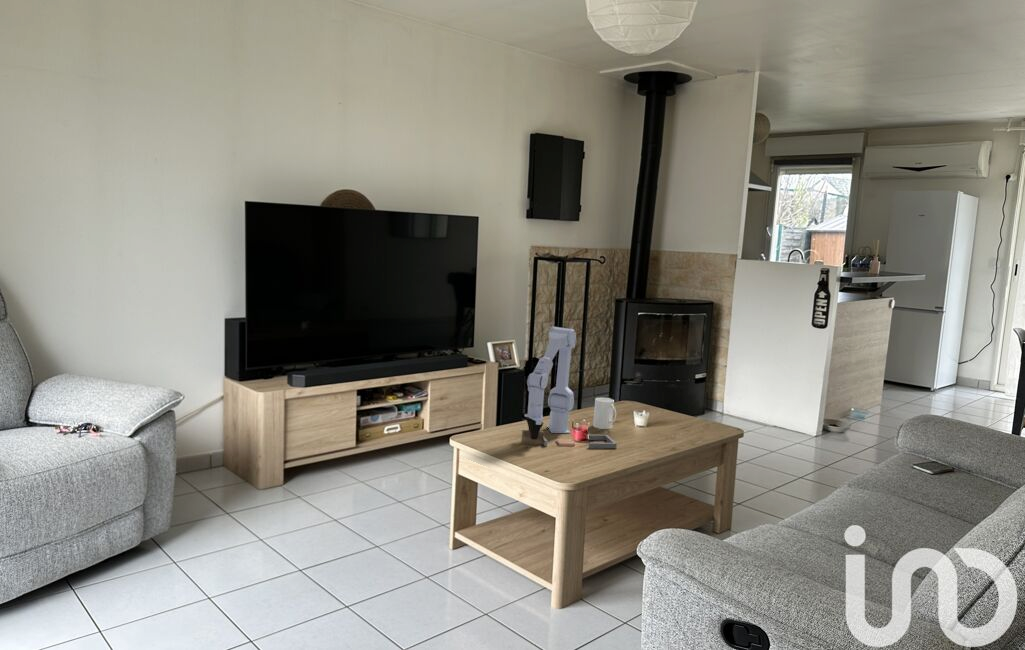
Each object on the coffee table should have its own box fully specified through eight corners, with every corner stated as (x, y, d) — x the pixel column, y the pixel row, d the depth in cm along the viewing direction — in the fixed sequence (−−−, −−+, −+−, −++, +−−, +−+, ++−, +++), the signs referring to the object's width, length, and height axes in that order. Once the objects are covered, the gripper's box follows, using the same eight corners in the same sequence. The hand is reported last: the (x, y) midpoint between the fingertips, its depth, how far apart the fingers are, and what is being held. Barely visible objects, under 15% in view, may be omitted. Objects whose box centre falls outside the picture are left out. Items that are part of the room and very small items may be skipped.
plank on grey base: (520, 440, 281) (521, 428, 280) (542, 440, 283) (543, 428, 282) (524, 446, 273) (525, 434, 273) (547, 446, 275) (547, 434, 274)
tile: (556, 442, 283) (556, 438, 283) (570, 442, 284) (571, 439, 284) (559, 447, 277) (559, 443, 277) (574, 447, 278) (574, 443, 278)
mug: (621, 430, 306) (623, 403, 304) (605, 432, 301) (607, 404, 300) (604, 423, 316) (606, 396, 314) (588, 424, 311) (590, 397, 310)
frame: (580, 439, 288) (581, 434, 288) (606, 439, 290) (607, 434, 290) (589, 448, 276) (589, 443, 276) (616, 448, 278) (616, 443, 278)
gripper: (521, 399, 282) (519, 432, 284) (529, 408, 268) (527, 443, 270) (539, 399, 284) (536, 432, 285) (547, 408, 270) (545, 443, 271)
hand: (533, 437), depth 278 cm, fingers closed on plank on grey base, 2 cm apart
